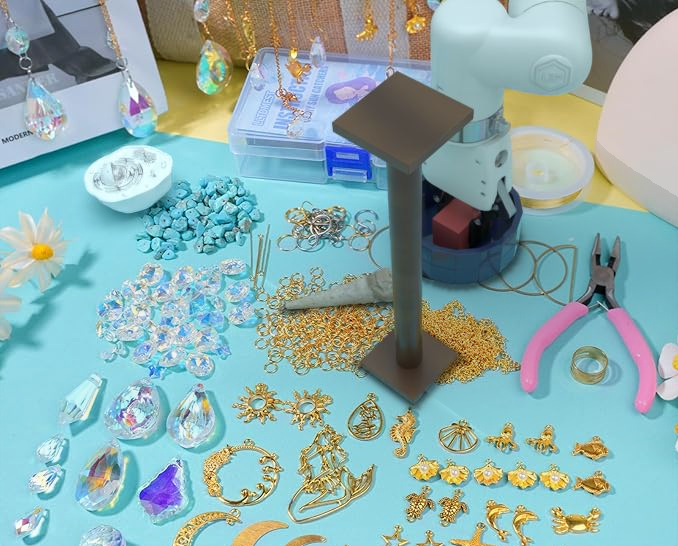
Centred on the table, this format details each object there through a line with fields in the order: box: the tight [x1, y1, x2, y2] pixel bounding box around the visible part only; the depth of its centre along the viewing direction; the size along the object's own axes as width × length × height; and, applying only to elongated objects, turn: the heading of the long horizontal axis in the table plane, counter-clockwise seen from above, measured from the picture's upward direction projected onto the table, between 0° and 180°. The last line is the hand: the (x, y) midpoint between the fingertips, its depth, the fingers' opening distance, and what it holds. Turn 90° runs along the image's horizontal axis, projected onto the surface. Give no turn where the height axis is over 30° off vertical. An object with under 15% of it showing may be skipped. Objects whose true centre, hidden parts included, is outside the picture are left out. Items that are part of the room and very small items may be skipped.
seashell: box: [285, 267, 393, 310], centre depth 99 cm, size 4×16×4 cm, turn 98°
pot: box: [422, 175, 524, 285], centre depth 102 cm, size 15×15×6 cm
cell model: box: [83, 145, 173, 214], centre depth 111 cm, size 10×12×7 cm
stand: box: [331, 70, 474, 406], centre depth 80 cm, size 8×8×36 cm
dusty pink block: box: [433, 197, 493, 250], centre depth 102 cm, size 7×4×4 cm, turn 137°
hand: (463, 228), depth 103 cm, fingers closed on dusty pink block, 4 cm apart
